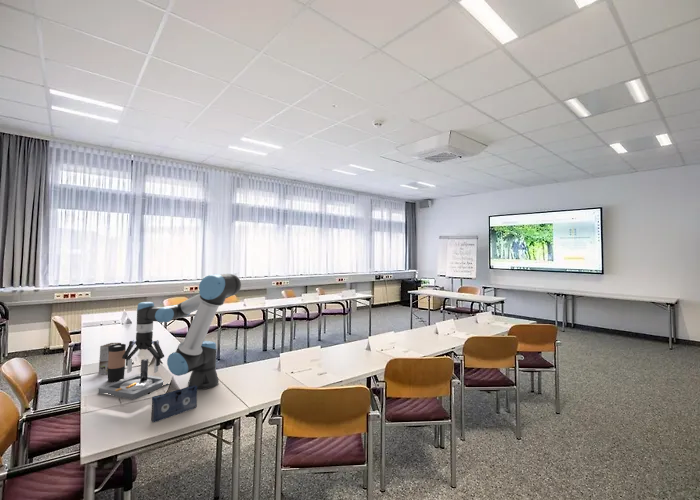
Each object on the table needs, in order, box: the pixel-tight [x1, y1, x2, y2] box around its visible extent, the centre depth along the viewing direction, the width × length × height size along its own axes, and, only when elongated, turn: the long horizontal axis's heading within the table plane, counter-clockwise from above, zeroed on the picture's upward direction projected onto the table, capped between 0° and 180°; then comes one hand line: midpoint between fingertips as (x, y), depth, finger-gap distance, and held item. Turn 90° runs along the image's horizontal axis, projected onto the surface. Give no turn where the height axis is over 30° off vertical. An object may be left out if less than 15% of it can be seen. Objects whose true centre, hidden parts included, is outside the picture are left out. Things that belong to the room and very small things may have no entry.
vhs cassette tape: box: [150, 385, 198, 423], centre depth 143 cm, size 18×3×10 cm, turn 141°
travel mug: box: [107, 343, 127, 383], centre depth 178 cm, size 8×8×20 cm
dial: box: [120, 358, 152, 391], centre depth 167 cm, size 14×14×12 cm
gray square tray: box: [97, 373, 164, 400], centre depth 167 cm, size 22×22×4 cm
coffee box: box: [98, 342, 122, 375], centre depth 194 cm, size 9×6×16 cm
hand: (142, 371), depth 173 cm, fingers open, 13 cm apart
